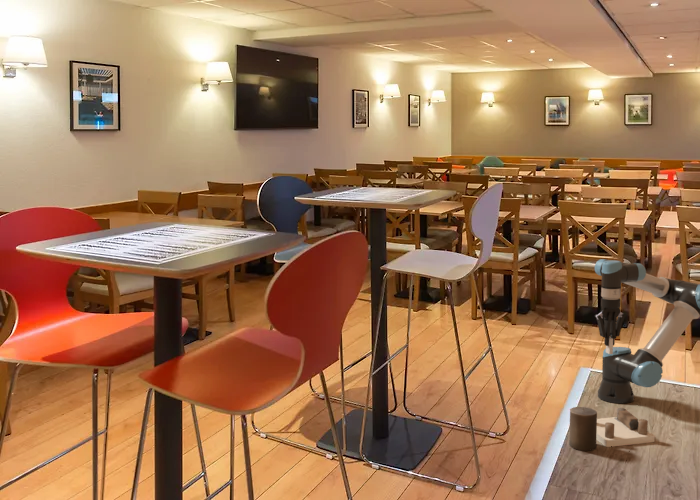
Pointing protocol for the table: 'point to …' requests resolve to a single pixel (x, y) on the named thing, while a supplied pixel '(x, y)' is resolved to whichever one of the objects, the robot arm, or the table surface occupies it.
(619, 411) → the folding leg
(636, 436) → the stool seat
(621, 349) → the robot arm
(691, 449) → the table surface
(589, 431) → the pillar candle
